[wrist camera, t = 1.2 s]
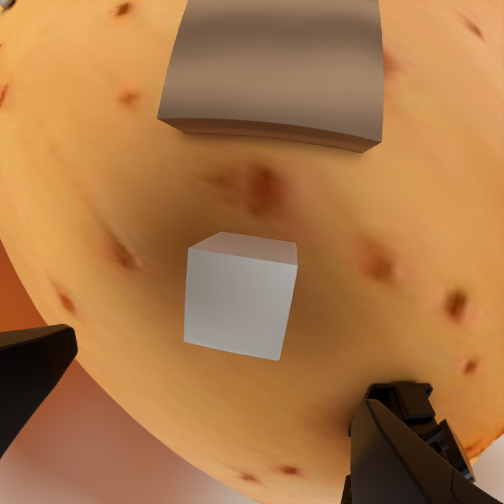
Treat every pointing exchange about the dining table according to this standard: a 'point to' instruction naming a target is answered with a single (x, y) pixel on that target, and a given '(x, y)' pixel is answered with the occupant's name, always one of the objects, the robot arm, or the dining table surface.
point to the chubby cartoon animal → (5, 3)
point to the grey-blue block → (239, 293)
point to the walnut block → (279, 71)
